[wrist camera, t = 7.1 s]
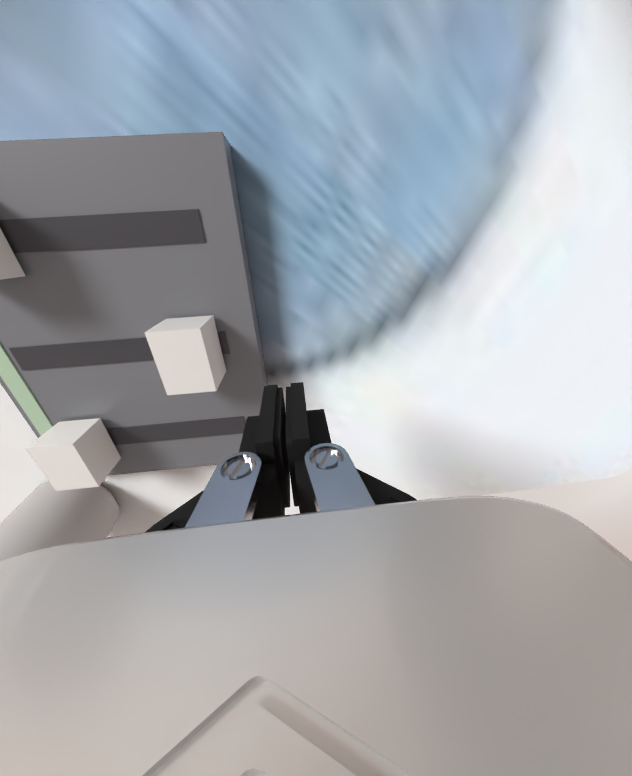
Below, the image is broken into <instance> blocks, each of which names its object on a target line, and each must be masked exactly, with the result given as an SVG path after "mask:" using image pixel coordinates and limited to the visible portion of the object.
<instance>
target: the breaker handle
mask: <svg viewBox="0 0 632 776" xmlns="http://www.w3.org/2000/svg"><path fill="white" fill-rule="evenodd" d="M144 333H145V335H146V338H147V341H148V344H149V346H150V349H151V352H152V355H153V357H154V360H155V363H156V366H157V368H158V371H159V374H160V377H161V379H162V382H163V385H164V388H165V390H166V393H167V395H178V394H189V393H201V392H212V391H217V389H218V387H219V385H220V383H221V381H222V379H223V377H224V375H225V373H226V368H225V363H224V359H223V355H222V351H221V346H220V342H219V338H218V333H217V329H216V325H215V321H214V316H213V315H210V316H196V317H183V318H169V319H165V320H163V321H162V322H160V323H159V324H157V325H155V326H154V327H152V328H151V329H149V330H148V331H146V332H144Z"/></svg>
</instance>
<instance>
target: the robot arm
mask: <svg viewBox="0 0 632 776" xmlns="http://www.w3.org/2000/svg"><path fill="white" fill-rule="evenodd" d="M290 477H291V485H292V492H293V500H294V506H299V509H300V514H294V515H285V508H286V507H290ZM0 776H632V562H631V561H630V560H629V559H628V558H626V557H625V556H624V555H623V554H622V553H620V552H619V551H618V550H617V549H615V548H614V547H613V546H612V545H610V544H609V543H608V542H607V541H606V540H604V539H603V538H602V537H601V536H599V535H598V534H596V533H595V532H594V531H593V530H591V529H590V528H588V527H587V526H585V525H584V524H583V523H581V522H580V521H578V520H576V519H575V518H573V517H571V516H569V515H568V514H565V513H563V512H561V511H559V510H557V509H553V508H550V507H547V506H544V505H541V504H537V503H533V502H528V501H523V500H518V499H513V498H505V497H493V496H463V497H450V498H437V499H425V500H416V499H415V498H413V497H412V496H410V495H408V494H406V493H404V492H402V491H400V490H398V489H396V488H394V487H392V486H390V485H388V484H386V483H384V482H382V481H380V480H378V479H376V478H374V477H372V476H370V475H368V474H366V473H364V472H362V471H360V470H358V469H356V468H355V466H354V464H353V462H352V460H351V458H350V457H349V455H348V453H347V452H346V450H345V449H344V448H342V447H341V446H339V445H336V444H332V443H331V439H330V435H329V430H328V426H327V422H326V417H325V413H324V409H320V410H310V411H306V403H305V395H304V387H303V382H301V383H291V387H286V412H285V404H284V396H283V389H282V388H278V386H277V385H268V386H264V391H263V397H262V402H261V408H260V414H259V415H258V416H248V417H247V420H246V424H245V428H244V432H243V436H242V440H241V445H240V449H239V452H238V453H235V454H232V455H230V456H228V457H226V458H225V459H223V460H222V461H221V462H220V463H219V464H218V466H217V467H216V469H215V471H214V473H213V475H212V477H211V479H210V481H209V482H208V484H207V486H206V488H205V490H203V491H202V492H201V493H199V494H198V495H196V496H195V497H193V498H192V499H190V500H189V501H188V502H186V503H185V504H183V505H182V506H180V507H179V508H178V509H176V510H175V511H173V512H172V513H170V514H169V515H167V516H166V517H165V518H163V519H162V520H160V521H159V522H157V523H156V524H155V525H153V526H152V527H151V528H150V529H148V530H147V531H146V532H145V533H139V534H131V535H124V536H116V537H108V538H101V539H95V540H89V541H82V542H76V543H70V544H63V545H57V546H53V547H49V548H44V549H40V550H35V551H32V552H28V553H25V554H22V555H19V556H15V557H12V558H9V559H6V560H3V561H0Z"/></svg>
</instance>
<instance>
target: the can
mask: <svg viewBox="0 0 632 776" xmlns="http://www.w3.org/2000/svg"><path fill="white" fill-rule="evenodd" d="M119 514H120V512H119V506H118V504H117V503H116V501H115V498H114V496H113V495H112V493H111V492H110V491H109V490H107V489H106V488H105V487H104V486H102V485H100V486H99V487H91V488H81V489H71V490H61V491H56V490H55V489H54V487H53V486H52V485H51V483H50V482H49V481H48V482H46V483H43V484H41V485H39V486H38V487H37V488H36V489H35V490H34V491H33V492H32V493H31V494H30V495H29V496H28V497H27V498H26V499H25V500H24V501H23V502H22V503H21V504H20V505H19V506H18V507H17V508H16V509H15V510H14V511H13V512H12V513H11V514H10V515H9V516H8V517H7V518H6V519H5V520H4V521H3V522H2V523H1V524H0V561H3V560H6V559H9V558H12V557H15V556H19V555H22V554H25V553H28V552H32V551H35V550H40V549H44V548H49V547H53V546H57V545H63V544H70V543H76V542H82V541H89V540H95V539H101V538H106V537H107V536H108V534H109V532H110V531H111V529H112V528H113V526H114V524H115V523H116V521H117V519H118V517H119Z"/></svg>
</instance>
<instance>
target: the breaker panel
mask: <svg viewBox="0 0 632 776" xmlns="http://www.w3.org/2000/svg"><path fill="white" fill-rule="evenodd" d="M210 315H213V316H214V321H215V325H216V329H217V333H218V338H219V342H220V346H221V351H222V355H223V359H224V363H225V368H226V373H225V375H224V377H223V379H222V381H221V383H220V385H219V387H218V389H217V391H212V392H201V393H189V394H178V395H167V393H166V390H165V388H164V385H163V382H162V379H161V377H160V374H159V371H158V368H157V366H156V363H155V360H154V357H153V355H152V352H151V349H150V346H149V344H148V341H147V338H146V335H145V333H144V332H146V331H148V330H149V329H151V328H152V327H154V326H155V325H157V324H159V323H160V322H162V321H163V320H165V319H169V318H183V317H196V316H210ZM0 383H1V385H2V386H3V388H4V389H5V390H6V392H7V393H8V395H9V396H10V398H11V399H12V401H13V402H14V404H15V405H16V407H17V408H18V409H19V411H20V412H21V414H22V415H23V417H24V418H25V420H26V421H27V423H28V424H29V425H30V427H31V428H32V430H33V431H34V433H35V434H36V436H37V437H38V439H36V440H35V441H34V442H33V443H31V444H30V445H29V446H27V447H26V448H25V449H26V451H27V452H28V453H29V455H30V456H31V457H32V459H33V460H34V462H35V463H36V464H37V466H38V467H39V468H40V470H41V471H42V472H43V474H44V475H45V477H46V478H47V479H48V481H49V482H50V483H51V485H52V486H53V487H54V489H55V490H56V491H61V490H71V489H81V488H91V487H99V486H100V485H101V483H102V482H103V481H104V479H105V478H106V477H107V476H108V475H116V474H126V473H136V472H146V471H156V470H166V469H176V468H186V467H197V466H207V465H217V464H219V463H220V462H221V461H222V460H223V459H225V458H226V457H228V456H230V455H232V454H235V453H238V452H239V449H240V445H241V440H242V436H243V432H244V428H245V424H246V420H247V417H248V416H258V415H259V414H260V408H261V402H262V397H263V391H264V386H268V384H267V378H266V371H265V365H264V359H263V352H262V346H261V339H260V333H259V327H258V320H257V314H256V308H255V301H254V295H253V289H252V282H251V276H250V269H249V263H248V257H247V250H246V244H245V238H244V231H243V225H242V219H241V212H240V206H239V199H238V193H237V187H236V180H235V174H234V168H233V161H232V155H231V149H230V144H229V142H228V140H227V139H226V137H225V136H224V134H223V132H205V133H182V134H158V135H134V136H110V137H87V138H63V139H39V140H15V141H0Z"/></svg>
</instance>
